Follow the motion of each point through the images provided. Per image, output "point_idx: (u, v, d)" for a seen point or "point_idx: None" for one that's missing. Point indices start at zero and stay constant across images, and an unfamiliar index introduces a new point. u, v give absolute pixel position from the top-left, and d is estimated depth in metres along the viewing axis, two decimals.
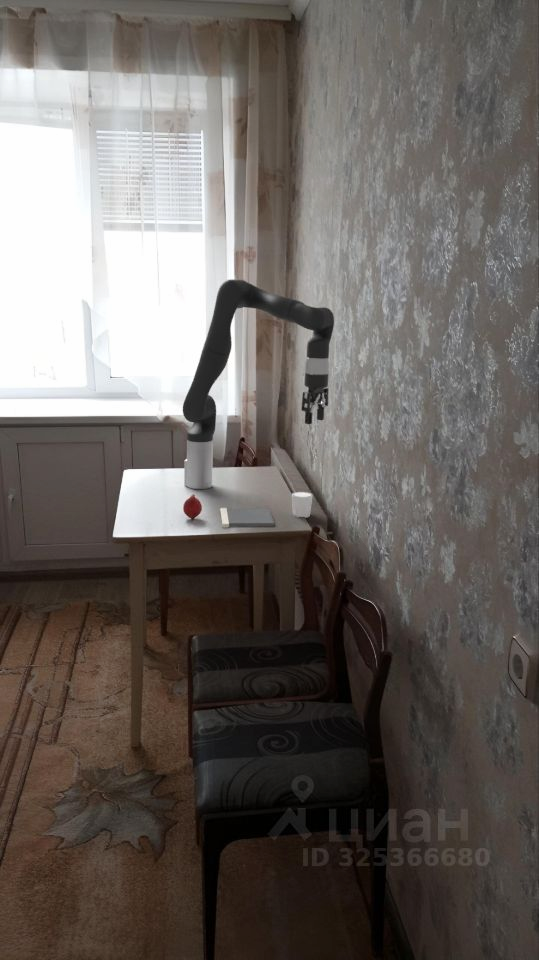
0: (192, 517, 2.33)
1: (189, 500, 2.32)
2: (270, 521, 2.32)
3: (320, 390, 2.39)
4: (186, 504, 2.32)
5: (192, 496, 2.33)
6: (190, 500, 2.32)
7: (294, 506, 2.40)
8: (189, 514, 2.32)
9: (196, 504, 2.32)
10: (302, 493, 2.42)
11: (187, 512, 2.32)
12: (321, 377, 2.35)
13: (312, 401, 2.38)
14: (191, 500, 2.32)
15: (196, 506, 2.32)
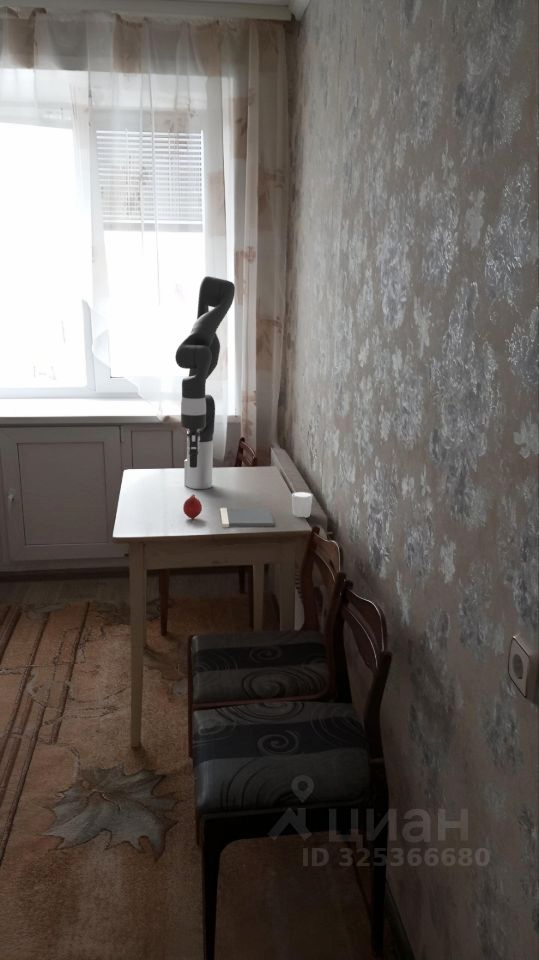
0: (192, 517, 2.33)
1: (189, 500, 2.32)
2: (270, 521, 2.32)
3: None
4: (186, 504, 2.32)
5: (192, 496, 2.33)
6: (190, 500, 2.32)
7: (294, 506, 2.40)
8: (189, 514, 2.32)
9: (196, 504, 2.32)
10: (302, 493, 2.42)
11: (187, 512, 2.32)
12: None
13: None
14: (191, 500, 2.32)
15: (196, 506, 2.32)
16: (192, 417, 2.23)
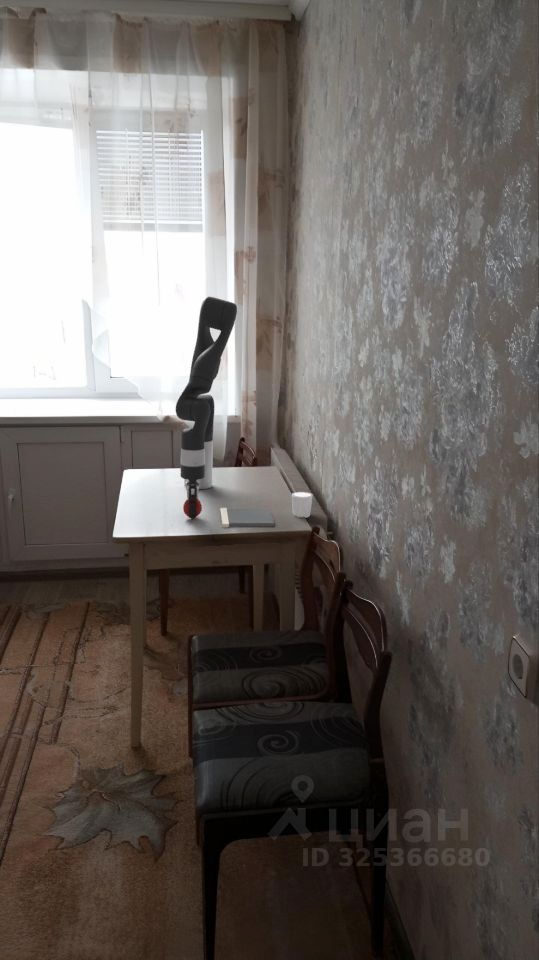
0: None
1: None
2: (270, 521, 2.32)
3: None
4: (186, 504, 2.32)
5: None
6: (190, 500, 2.32)
7: (294, 506, 2.40)
8: None
9: None
10: (302, 493, 2.42)
11: (187, 512, 2.32)
12: None
13: None
14: (191, 500, 2.32)
15: (196, 506, 2.32)
16: (191, 468, 2.27)
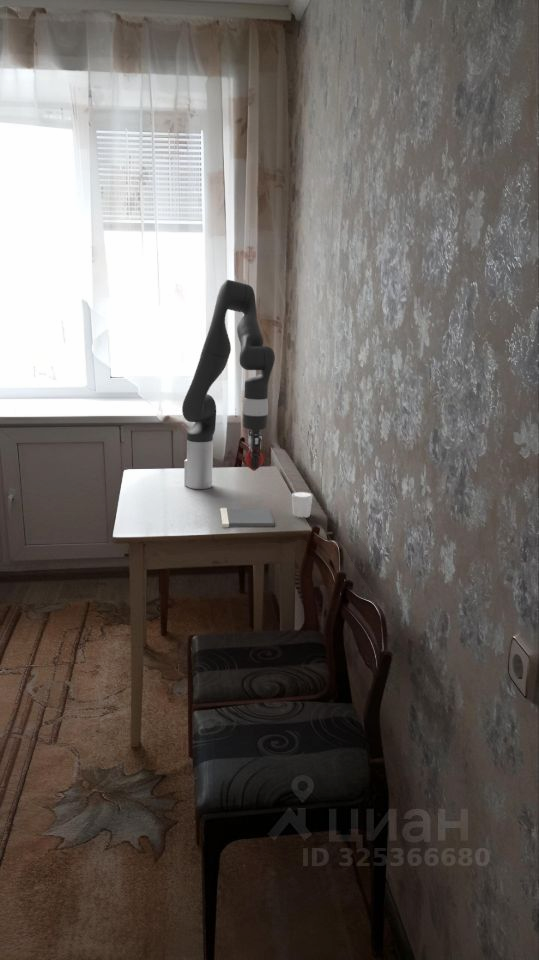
0: None
1: None
2: (270, 521, 2.32)
3: (251, 431, 2.29)
4: (248, 455, 2.30)
5: None
6: None
7: (294, 506, 2.40)
8: None
9: None
10: (302, 493, 2.42)
11: (249, 463, 2.30)
12: None
13: None
14: None
15: None
16: (255, 418, 2.25)
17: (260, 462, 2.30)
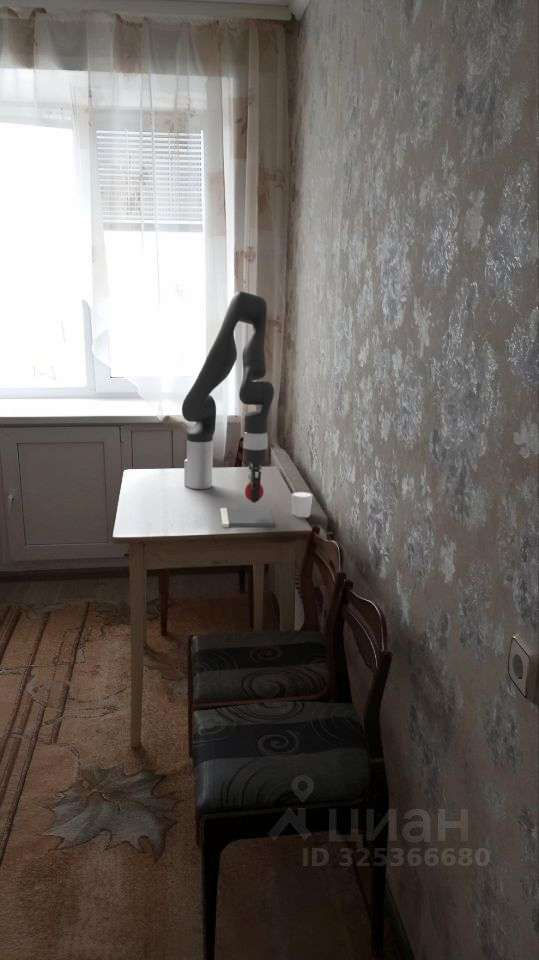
0: None
1: None
2: (270, 521, 2.32)
3: (251, 464, 2.31)
4: (248, 488, 2.33)
5: None
6: None
7: (294, 506, 2.40)
8: None
9: None
10: (302, 493, 2.42)
11: (249, 496, 2.32)
12: None
13: None
14: None
15: None
16: (255, 452, 2.27)
17: (260, 495, 2.33)
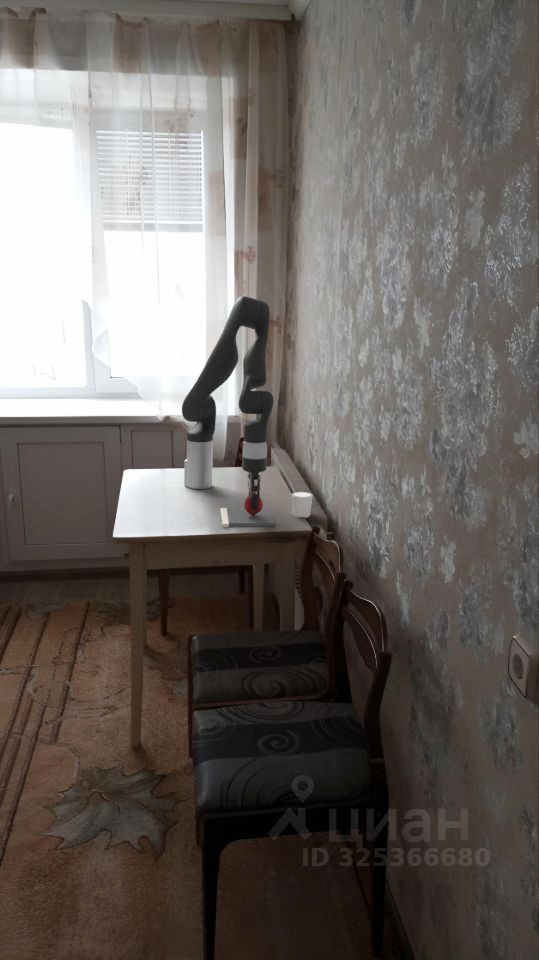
0: (253, 514, 2.35)
1: None
2: (270, 521, 2.32)
3: None
4: (248, 501, 2.33)
5: (254, 493, 2.34)
6: None
7: (294, 506, 2.40)
8: (250, 511, 2.34)
9: (258, 501, 2.33)
10: (302, 493, 2.42)
11: (248, 509, 2.33)
12: None
13: None
14: None
15: (258, 503, 2.33)
16: (254, 461, 2.28)
17: (259, 508, 2.34)
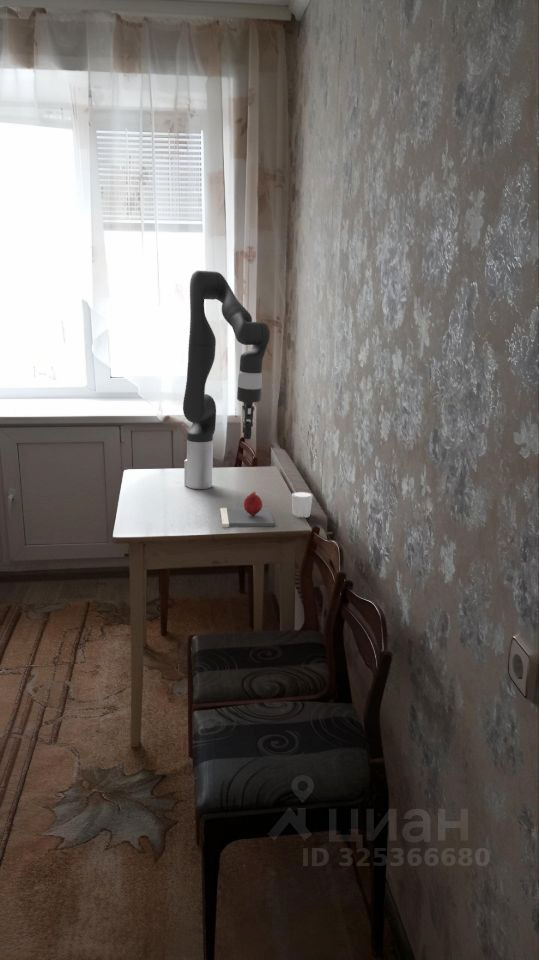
0: (253, 514, 2.35)
1: (250, 497, 2.34)
2: (270, 521, 2.32)
3: None
4: (247, 501, 2.34)
5: (253, 493, 2.34)
6: (251, 497, 2.34)
7: (294, 506, 2.40)
8: (250, 511, 2.34)
9: (257, 501, 2.33)
10: (302, 493, 2.42)
11: (248, 509, 2.34)
12: None
13: None
14: (252, 497, 2.34)
15: (257, 502, 2.33)
16: (248, 391, 2.33)
17: (259, 508, 2.34)
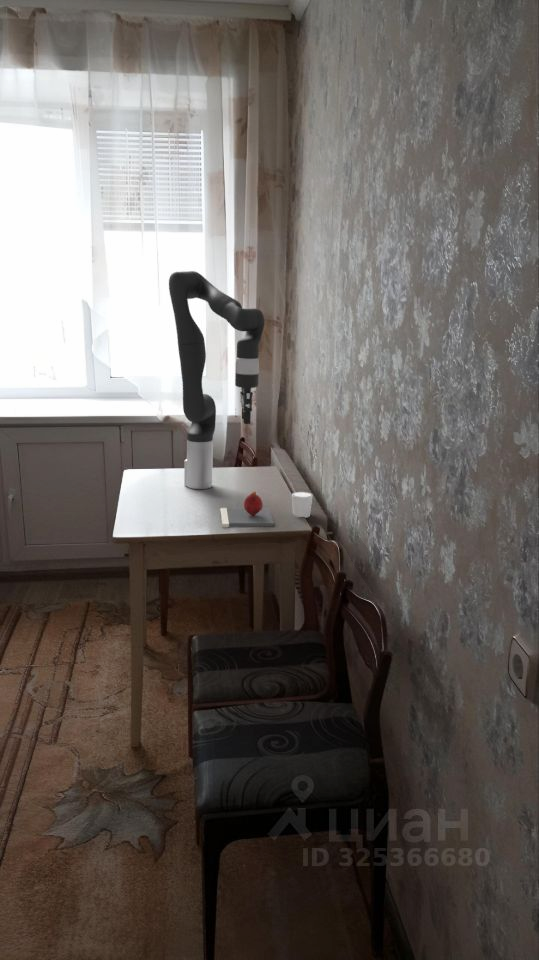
0: (253, 514, 2.35)
1: (250, 497, 2.34)
2: (270, 521, 2.32)
3: (243, 390, 2.42)
4: (247, 501, 2.34)
5: (253, 493, 2.34)
6: (251, 497, 2.34)
7: (294, 506, 2.40)
8: (250, 511, 2.34)
9: (257, 500, 2.34)
10: (302, 493, 2.42)
11: (248, 509, 2.34)
12: None
13: None
14: (252, 496, 2.34)
15: (257, 502, 2.33)
16: (246, 376, 2.38)
17: (259, 508, 2.34)
